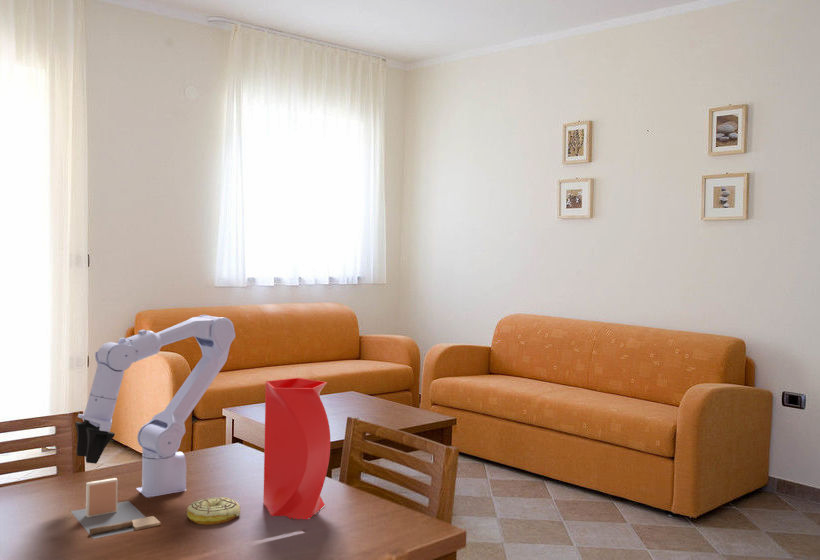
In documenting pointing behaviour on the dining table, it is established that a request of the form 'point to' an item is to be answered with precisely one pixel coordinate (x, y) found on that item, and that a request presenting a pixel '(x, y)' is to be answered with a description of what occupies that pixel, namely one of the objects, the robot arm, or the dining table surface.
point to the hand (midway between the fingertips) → (86, 459)
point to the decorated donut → (213, 510)
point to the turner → (127, 525)
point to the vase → (295, 447)
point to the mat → (109, 519)
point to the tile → (101, 497)
